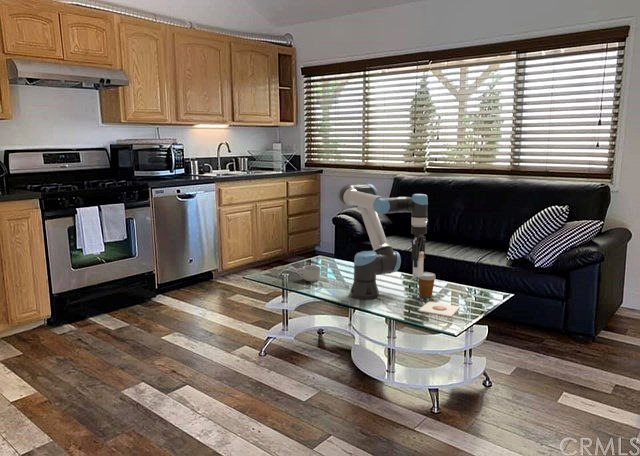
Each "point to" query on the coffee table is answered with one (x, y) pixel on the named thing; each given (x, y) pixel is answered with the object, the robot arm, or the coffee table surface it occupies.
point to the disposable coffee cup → (426, 284)
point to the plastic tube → (420, 264)
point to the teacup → (310, 273)
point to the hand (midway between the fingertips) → (417, 272)
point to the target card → (439, 309)
